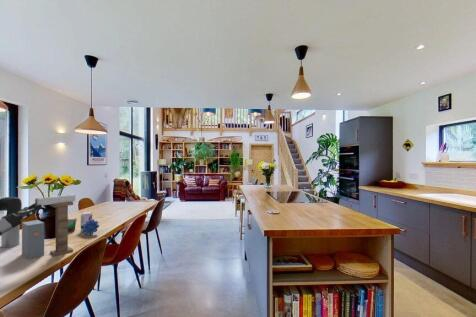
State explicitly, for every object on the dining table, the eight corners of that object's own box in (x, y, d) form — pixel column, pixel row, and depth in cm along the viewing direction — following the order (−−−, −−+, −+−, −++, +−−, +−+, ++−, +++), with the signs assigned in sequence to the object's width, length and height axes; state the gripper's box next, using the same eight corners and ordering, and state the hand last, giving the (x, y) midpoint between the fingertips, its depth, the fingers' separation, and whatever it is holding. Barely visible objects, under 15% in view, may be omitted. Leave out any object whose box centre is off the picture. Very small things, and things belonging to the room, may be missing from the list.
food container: (56, 233, 198) (56, 220, 198) (60, 231, 204) (60, 219, 204) (74, 232, 201) (74, 219, 201) (76, 229, 207) (76, 218, 207)
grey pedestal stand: (50, 253, 155) (50, 202, 155) (68, 248, 163) (68, 200, 163) (54, 256, 150) (54, 204, 150) (73, 251, 158) (73, 201, 158)
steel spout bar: (35, 205, 147) (35, 198, 147) (72, 200, 164) (72, 194, 164) (37, 205, 145) (37, 199, 145) (75, 201, 161) (75, 195, 161)
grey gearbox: (21, 254, 153) (22, 222, 153) (37, 250, 160) (38, 220, 160) (28, 259, 146) (28, 225, 146) (44, 255, 152) (44, 222, 152)
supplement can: (94, 229, 208) (94, 211, 208) (88, 232, 199) (88, 214, 199) (84, 229, 207) (84, 212, 207) (78, 232, 199) (78, 214, 199)
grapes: (100, 232, 199) (100, 217, 199) (98, 235, 193) (98, 219, 193) (83, 234, 195) (83, 219, 195) (81, 236, 189) (81, 221, 189)
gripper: (8, 226, 141) (39, 208, 153) (15, 230, 133) (47, 211, 144) (-1, 216, 138) (31, 198, 150) (6, 220, 130) (39, 201, 141)
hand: (39, 204), depth 147 cm, fingers open, 8 cm apart
